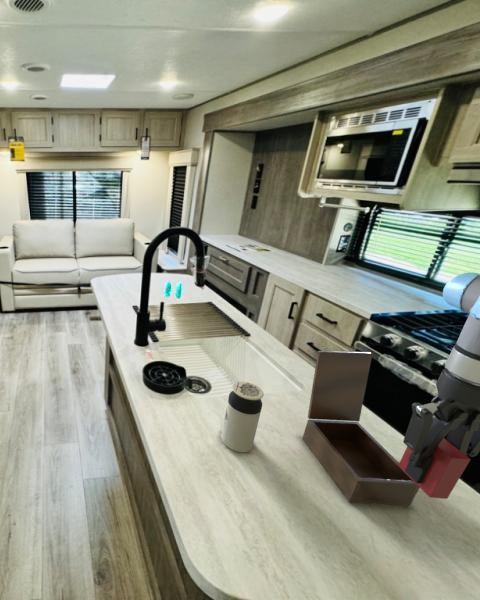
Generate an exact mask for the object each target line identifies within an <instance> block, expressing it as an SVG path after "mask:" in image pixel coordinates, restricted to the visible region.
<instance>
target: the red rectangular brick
mask: <svg viewBox="0 0 480 600" xmlns="http://www.w3.org/2000/svg"><path fill="white" fill-rule="evenodd" d="M446 439H447V438H444V439H443V440H442V441H441V442H440V444H439V445H438V446H437V448H436V449H435V450H434V452H433V453H432V454H431V456H432V457H433V458H434V460H433V462H432V464H431V466H430V468H429V470H428V471H427V473H426V475H425V477H424V479H423V481H422V483H416V482H415V481H414V480H413V479H412V478H411V477H410V476H409V475H408V474H407V473H406V472H405V469H406V467H407V465H408V463H409V461H408V459H409V457H410V455H411V453H412V450H411V449H410V448H409V447H408V446H407V445H406V446H407V447H406V448H405V450H404V453H403V454H402V457H401V459H400V460H399V465H398V466H399V467H400V468H401V469H402V470H403V471H404V472H405V473H406V474H407V475H408V476H409V477H410V478H411V479H412V480H413V481H414V482H415V483H416V484H417V485H418V486H419V487H420V488H419V489H420V490H422V491H423V493H424V494H425V495H426V496H427V497H429V498H430V499H443V500H444V499H446V500H448V499H449V496H450V495H451V493H452V491H453V490H454V488H455V486H456V485H457V483H458V481H459V480H460V478H461V476H462V475H463V473H464V471H465V470H466V468H467V466H468V465H469V463H470V461H471V458H470V457H469V456H468V455H465V454H463V453H462V452H461V451H460V450H458V449H457V448H456V447H454V446H453V445H452V444H451V443H449V442H448V441H447V440H446Z"/></svg>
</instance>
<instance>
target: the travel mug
mask: <svg viewBox="0 0 480 600" xmlns="http://www.w3.org/2000/svg"><path fill="white" fill-rule="evenodd" d="M264 395H265V394H264V391H263V389H262V388H261V387H260V386H258V384H254V383H252V382H250V381H244V380H239V381H235V382H233V383H232V384H231V391H230V393H229V394H228V399H227V403H226V404H227V405H226V408H225V409H226V410H225V415H224V420H223V425H222V430H221V435H220V437H221V440H222V441H221V442H223V444H224V445H225V446H226V447H227V448H229V449H231V450H233V451H236V452H238V453H248V452H250V451H251V450H252V449H253V445H254V441H255V438H256V433H257V429H258V425H259V422H260V418H261V417H260V416H261V412H262V408H263V401H262V399H263V397H264Z"/></svg>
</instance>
